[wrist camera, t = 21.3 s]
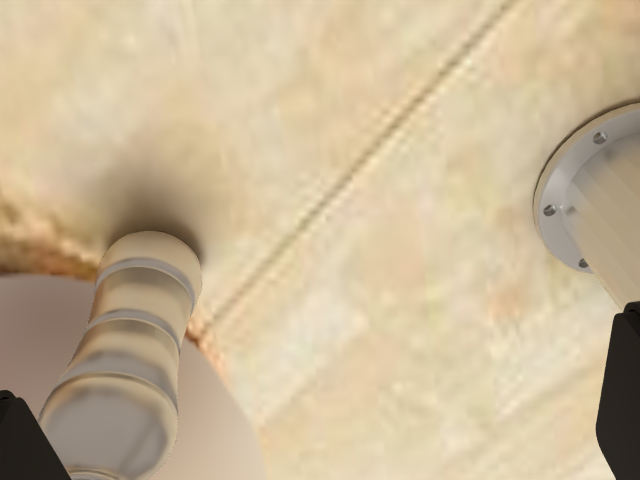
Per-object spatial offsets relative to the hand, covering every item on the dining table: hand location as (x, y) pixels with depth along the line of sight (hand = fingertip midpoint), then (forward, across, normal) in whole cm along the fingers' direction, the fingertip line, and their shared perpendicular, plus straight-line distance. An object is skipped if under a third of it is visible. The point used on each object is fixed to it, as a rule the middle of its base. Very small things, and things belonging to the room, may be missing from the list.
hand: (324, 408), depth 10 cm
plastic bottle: (+28, +12, +15) cm, 34 cm away
